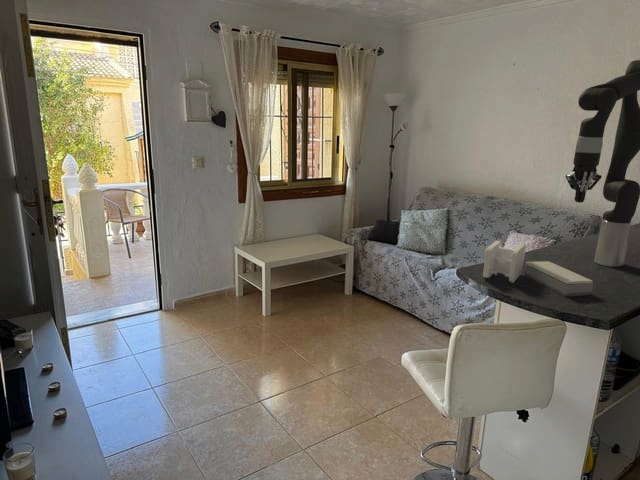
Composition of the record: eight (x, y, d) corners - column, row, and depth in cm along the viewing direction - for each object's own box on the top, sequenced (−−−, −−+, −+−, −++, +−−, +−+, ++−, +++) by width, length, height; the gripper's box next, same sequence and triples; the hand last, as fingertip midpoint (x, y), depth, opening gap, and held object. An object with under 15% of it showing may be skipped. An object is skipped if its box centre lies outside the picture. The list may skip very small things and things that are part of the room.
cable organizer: (512, 286, 151) (517, 253, 148) (480, 279, 157) (484, 247, 154) (522, 274, 163) (526, 243, 160) (492, 268, 169) (496, 238, 165)
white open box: (547, 273, 164) (549, 263, 163) (591, 294, 145) (593, 283, 144) (523, 275, 162) (525, 264, 161) (564, 296, 143) (566, 284, 142)
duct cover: (548, 263, 163) (549, 260, 162) (592, 283, 144) (592, 279, 144) (525, 263, 161) (526, 261, 160) (567, 283, 142) (567, 280, 142)
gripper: (595, 150, 155) (586, 199, 160) (563, 149, 152) (554, 200, 157) (614, 152, 148) (603, 203, 153) (580, 151, 145) (570, 204, 150)
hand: (578, 202), depth 155 cm, fingers closed
